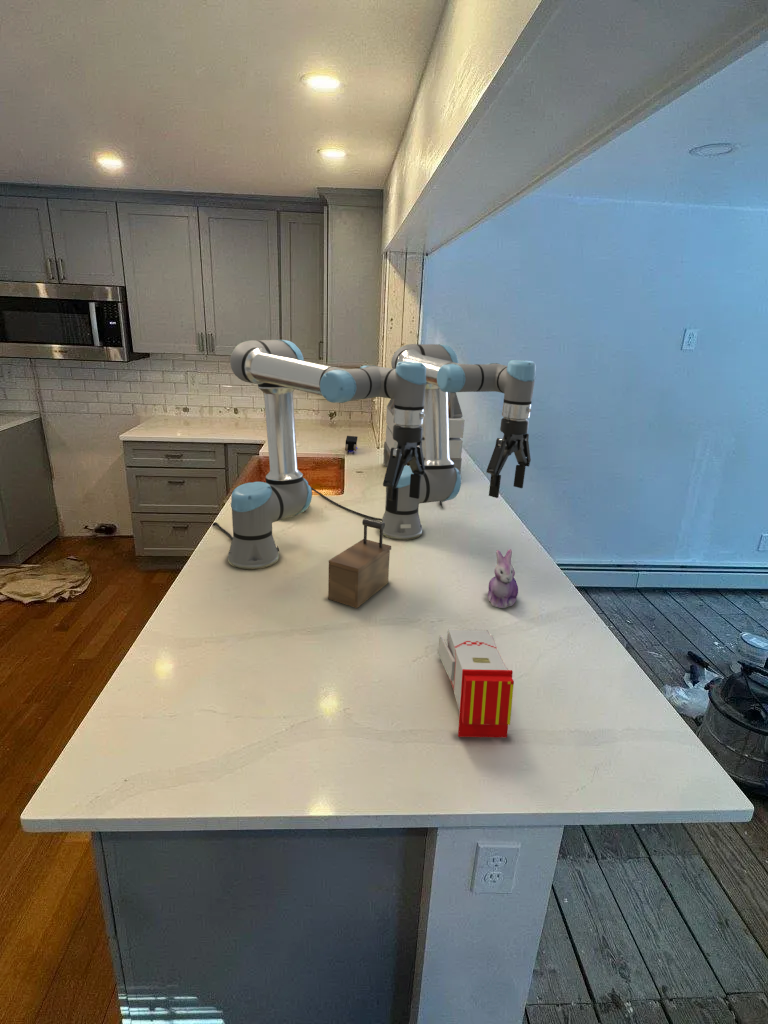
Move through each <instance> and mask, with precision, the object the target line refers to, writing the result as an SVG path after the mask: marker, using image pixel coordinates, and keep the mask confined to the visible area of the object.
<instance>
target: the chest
mask: <svg viewBox="0 0 768 1024" xmlns="http://www.w3.org/2000/svg"><path fill="white" fill-rule="evenodd" d="M390 554H391V550H390V551H388V552H387V553H385V554H384V555H382V556H381V557H380V558H378V559H377V560H375V561H374V562H373V563H371V564H370V565H368V566H367V567H366V568H364V569H363V570H361V571H360V572H359V573H357V572H354V571H350V570H347V569H343V568H340V567H336V566H333V565H329V564H328V584H327V585H328V586H327V587H328V591H327V595H328V596H327V600H330V601H333V602H336V603H339V604H342V605H346V606H348V607H352V608H355V609H358V608H360V607H361V606H362V605H363V604H364V603H366V602H367V601H368V600H370V599H371V598H372V597H373V596H374V595H376V594H377V593H378V592H379V591H381V590H382V589H383V588H384V587H386V586H387V585H388V584H389V574H390V556H391V555H390Z"/></svg>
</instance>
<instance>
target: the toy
mask: <svg viewBox="0 0 768 1024" xmlns="http://www.w3.org/2000/svg"><path fill="white" fill-rule="evenodd" d="M446 640H447V643H446V641H445V639H444V636H443V635H442V634H439V637H438V646H437V656H438V657H439V659H440V661H441V663H442V666H443V668H444V670H445V672H446V674H447V677H448V679H449V681H450V684H451V687H452V690H453V693H454V697H455V701H456V705H457V708H458V711H459V714H458V715H459V716H458V730H457V731H458V732H457V737H458V738H508V731H509V726H510V725H511V717H512V707H513V697H514V696H513V695H514V684H515V680H514V679H513V673H514V671H513V670H512V669H508V667H507V665H506V662H505V661H504V659H503V658H502V655H501V653H500V651H499V649H498V647H497V643H496V639H495V637H494V635H493V634H491V632H490V631H489V629H467V628H466V629H465V628H463V629H461V628H460V629H459V628H448V630H447V639H446Z"/></svg>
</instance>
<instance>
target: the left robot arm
mask: <svg viewBox="0 0 768 1024" xmlns="http://www.w3.org/2000/svg"><path fill="white" fill-rule="evenodd" d="M229 363H230V368H231V370H232V373H233V374H234V375H235V377H237V379H239V380H241V381H242V382H245V383H249V384H254V385H257V388H258V389H259V390H260V391H261V392H262V393H263V400H264V412H265V425H266V437H267V449H268V462H269V472H268V473H266V475H265V482H264V481H253V482H251V481H249V482H245V483H242V484H240V485H238V486H236V487H235V488H234V489H233V490H232V492H231V502H230V507H231V519H232V520H231V521H232V535H231V534H230V533H229V532H228V531H227V530H226V529H224V528H223V527H222V526H221V525H220V524H219V523H218V522H216V521H215V522H213V523H212V526H215V527H217V528H218V529H219V530H220V531H221V532H223V533H224V534H225V535H226V536H227V537H228V538H229V539H230V540H231V541H230V546H229V550H228V553H227V561H228V563H229V564H230V565H231V566H232V567H235V568H238V569H241V570H242V569H243V570H258V569H266V568H268V567H270V566H273V565H275V564H276V563H277V562H278V561H279V558H280V548H279V546H278V545H276V542H275V541H276V540H274V539H275V538H274V536H273V523H275V522H279V521H282V520H285V519H287V518H291V517H295V516H298V515H299V514H302V513H304V512H306V511H307V509H308V508H309V507H310V505H311V503H312V498H313V490H312V491H311V487H312V486H311V485H309V481H308V480H307V479H306V478H305V477H304V473H302V472H301V471H300V470H299V468H298V467H299V466H298V451H297V438H296V424H295V423H296V419H295V407H294V406H295V405H294V391H295V390H296V391H300V392H304V393H309V394H313V395H317V396H321V397H323V398H324V399H325V400H326V401H327V402H329V403H332V404H337V403H338V404H340V403H341V404H344V403H347V402H352V401H358V400H360V401H361V400H367V399H373V398H382V399H390V400H391V399H394V418H393V423H395V425H394V426H393V439H394V440H395V441H397V443H398V444H397V448H391V451H390V459H389V462H388V466H386V471H385V474H384V477H383V482H382V486H383V487H385V488H386V487H387V509H386V511H390V512H394V513H396V512H397V505H398V488H397V485H398V482H399V479H400V477H401V474H402V471H403V469H404V466H407V463H408V462H409V465H410V468H411V470H412V473H414V474H411V477H410V493H409V497H411V498H416V499H419V495H420V480H421V475H424V474H425V471H424V470H425V464H424V458H423V451H422V432H423V428H422V426H420V425H422V424H423V418H424V417H425V414H424V398H425V388H426V366H425V365H424V364H423V363H420V362H408V361H403V362H398V363H397V365H396V369H392V367H384V366H377V365H374V364H372V365H361V366H359V367H358V368H357V367H356V368H343V367H337V366H332V365H327V364H323V363H317V362H311V361H308V360H307V361H306V360H305V359H304V355H303V353H302V351H301V349H300V348H299V347H298V346H297V344H295V343H294V342H293V341H291V340H286V339H278V338H276V339H263V340H262V339H256V340H255V339H254V340H253V339H252V340H251V339H250V340H245V341H243V342H240V343H238V344H237V345H236V346H235V347H234V348H233V350H232V352H231V354H230V359H229ZM420 465H421V466H420Z"/></svg>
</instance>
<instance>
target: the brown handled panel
mask: <svg viewBox="0 0 768 1024" xmlns="http://www.w3.org/2000/svg"><path fill="white" fill-rule="evenodd" d="M361 523H362V526H363V539H361V540H359V541H358V542H356V543H355V544H353V545H351V546H350V547H347V548H346V549H345V550H343V551H342V552H340V553H338V554H337V555H335V556H334V557H332V558H330V559H329V560H328V566H329V565H333V566H336V567H340V568H343V569H347V570H350V571H354V572H357V573H359V572H360V571H361V570H363V569H364V568H366V567H367V566H368V565H370V564H371V563H373V562H374V561H375V560H377V559H378V558H380V557H381V556H382V555H384V554H385V553H387V552H388V551H390V552H391V550H392V545H391V544H386V543H383V540H384V539H383V538H384V536H383V529H384V527H385V523H384V522H382V521H380V520H374V519H370V518H367V517H364V518H363V519H362V522H361ZM368 527H369V528H373V529H377V530H379V529H380V532H379V537H378V538H379V539H378V541H373V540H370V539H368Z"/></svg>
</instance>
